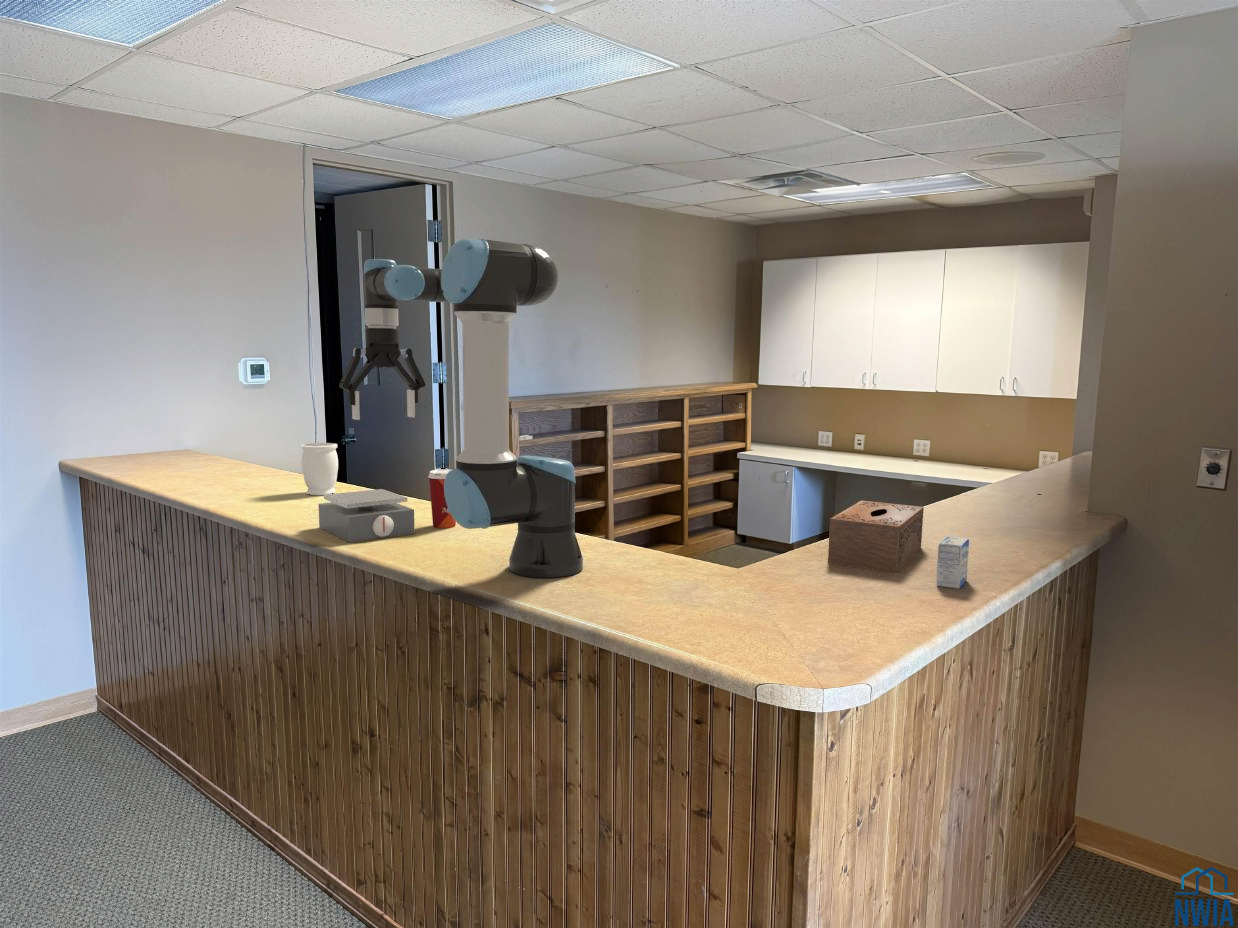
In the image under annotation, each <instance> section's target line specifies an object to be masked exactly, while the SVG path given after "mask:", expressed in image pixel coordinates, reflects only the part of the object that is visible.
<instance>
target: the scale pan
mask: <svg viewBox="0 0 1238 928" xmlns="http://www.w3.org/2000/svg"><path fill="white" fill-rule="evenodd" d="M323 500H325V501H328V502H329V503H330V502H333V503H335V504H337V505H340V506H342V507H344V508H356V507H368V506H374V505H383V504H392V503H398V504H400V503H401V504H402V503H407V502H408V501H409V500H408V497H406V496H403V495H401V494H398V493H396V492H392V491H389V490H386V489H383V488H379V489H369V490H357V491H350V492H349V491H347V492H339V493H333V494H327V495H323Z"/></svg>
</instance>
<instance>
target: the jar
mask: <svg viewBox="0 0 1238 928" xmlns="http://www.w3.org/2000/svg"><path fill="white" fill-rule="evenodd" d="M300 447H301V450H303V451H302V455H301V471H302V473H303V480H304V484H305V486H306V487H307V491H306V494H307V495H309V494H310V495H309V496H324V495H327V494H332V493H333V494H336V492H337V491H336V489H335V485H336V483H337V479H338V471H339V458H338V453H337V450H336V449H337V448H338V443H333V442H311V443H304V444H301V445H300Z"/></svg>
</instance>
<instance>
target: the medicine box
mask: <svg viewBox="0 0 1238 928" xmlns="http://www.w3.org/2000/svg"><path fill="white" fill-rule="evenodd" d="M969 547H970V539H969V538H965V537H964V538H963V537H958V536H946V537H945V538H944V539H943V540H942V541H941V542H940V543H939V544H938V547H937V566H936V582H935V583H936V586H937V587H942V588H949V589H956V590H960V589H961V587H962V586H964V583H965V582H966V581H967V580H968V564H969V563H968V562H969V551H970V550H969Z"/></svg>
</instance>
